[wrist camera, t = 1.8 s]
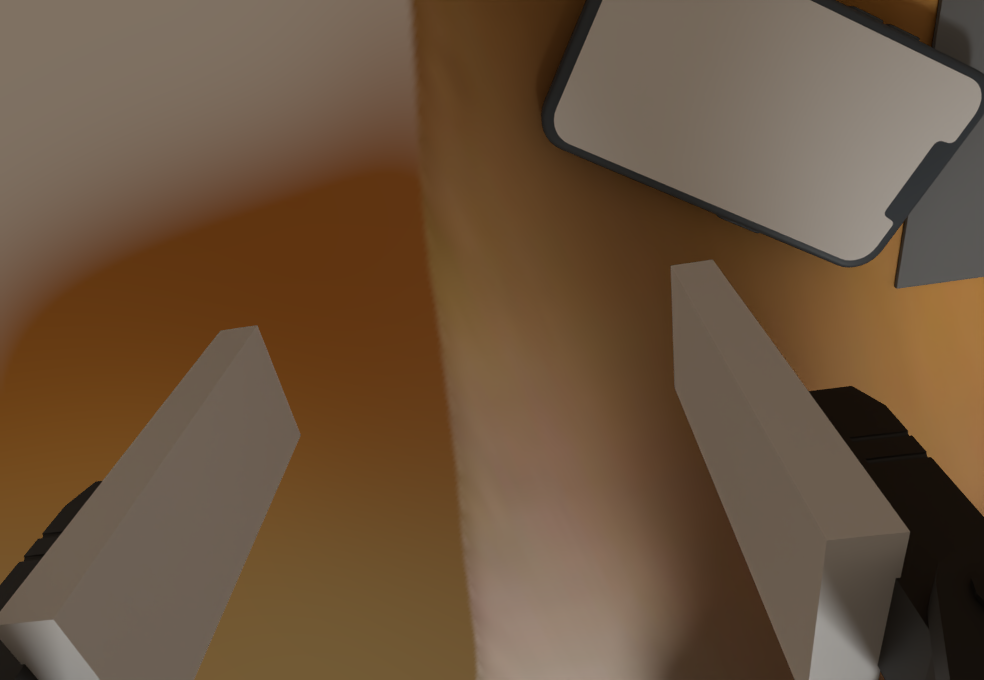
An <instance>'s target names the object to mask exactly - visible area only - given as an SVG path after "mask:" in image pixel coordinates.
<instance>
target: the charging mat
mask: <svg viewBox="0 0 984 680" xmlns="http://www.w3.org/2000/svg"><path fill="white" fill-rule="evenodd" d="M932 48H934V49H936V50H938V51H940V52H942V53H944V54H947V55H949V56H951V57H953V58H955V59H957V60H959V61H961V62H963V63H965V64H967V65H969V66H971V67H973V68H975V69H977V70H979V71H980V72H982V73H983V74H984V0H939V5H938V11H937V18H936V24H935V31H934V37H933V43H932ZM978 277H984V115H983V117H982V118H981V119H980V121H979V122H978V123H977V125H976V126H975V127H974V129H973V130H972V131H971V133H970V134H969V135H968V137H967V138H966V139H965V141H964V142H963V143H962V145H961V146H960V147H959V149H958V150H957V151H956V153H955V154H954V155H953V157H952V158H951V159H950V161H949V162H948V163H947V165H946V166H945V167H944V169H943V170H942V171H941V173H940V174H939V175H938V177H937V178H936V179H935V181H934V182H933V183H932V185H931V186H930V187H929V189H928V190H927V191H926V193H925V194H924V195H923V196H922V198H921V199H920V200H919V202H918V203H917V204H916V206H915V207H914V208H913V210H912V211H911V212H910V214H909V215H908V216H907V218H906V219H905V223H904V229H903V236H902V242H901V248H900V255H899V261H898V268H897V274H896V280H895V288H905V287H912V286H919V285H927V284H934V283H941V282H949V281H956V280H963V279H970V278H978Z"/></svg>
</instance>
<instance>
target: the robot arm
mask: <svg viewBox="0 0 984 680" xmlns="http://www.w3.org/2000/svg"><path fill="white" fill-rule="evenodd" d="M671 292H672V324H673V355H674V386H675V390H676V392H677V395H678V397H679V400H680V402H681V405H682V407H683V409H684V412H685V414H686V417H687V419H688V422H689V424H690V426H691V429H692V431H693V434H694V436H695V439H696V441H697V444H698V446H699V448H700V451H701V453H702V456H703V458H704V461H705V463H706V465H707V468H708V470H709V473H710V475H711V478H712V480H713V482H714V485H715V487H716V490H717V492H718V495H719V497H720V500H721V502H722V504H723V507H724V509H725V512H726V514H727V517H728V519H729V521H730V524H731V526H732V529H733V531H734V534H735V536H736V538H737V541H738V543H739V546H740V548H741V551H742V553H743V555H744V558H745V560H746V563H747V565H748V568H749V570H750V573H751V575H752V577H753V580H754V582H755V585H756V587H757V590H758V592H759V594H760V597H761V599H762V602H763V604H764V607H765V609H766V611H767V614H768V616H769V619H770V621H771V624H772V626H773V628H774V631H775V633H776V636H777V638H778V641H779V643H780V646H781V648H782V650H783V653H784V655H785V658H786V660H787V663H788V665H789V667H790V670H791V672H792V675H793V677H794V680H879V675H880V671H881V673H882V675H883V677H884V679H885V680H984V517H983V516H982V514H981V513H980V512H979V511H978V510H977V509H976V508H975V506H974V505H973V504H972V503H971V502H970V501H969V500H968V499H967V497H966V496H965V495H964V494H963V493H962V492H961V491H960V489H959V488H958V487H957V486H956V485H955V484H954V483H953V481H952V480H951V479H950V478H949V477H948V476H947V475H946V473H945V472H944V471H943V470H942V469H941V468H940V467H939V466H938V464H937V463H936V462H935V461H934V460H933V459H932V458H931V457H929V458H928V457H927V454H926V451H925V450H924V448H923V447H922V446H921V445H920V444H919V443H918V442H917V441H916V439H915V438H914V437H913V436H909V435H908V430H907V429H906V428H905V427H904V426H903V425H902V423H901V422H900V421H899V420H898V419H897V418H896V417H895V416H894V414H893V413H892V412H891V411H890V410H889V409H888V408H887V406H886V405H884V404H882V403H881V402H879V401H877V400H875V399H874V398H872V397H870V396H868V395H867V394H865V393H863V392H861V391H860V390H858V389H856V388H854V387H853V386H848V387H840V388H832V389H824V390H816V391H808V390H807V389H806V387H805V386H804V385H803V383H802V382H801V381H800V379H799V378H798V376H797V375H796V374H795V372H794V371H793V370H792V368H791V367H790V365H789V364H788V363H787V361H786V360H785V358H784V357H783V356H782V354H781V353H780V352H779V350H778V349H777V347H776V346H775V345H774V343H773V342H772V341H771V339H770V338H769V336H768V335H767V334H766V332H765V331H764V330H763V328H762V327H761V325H760V324H759V323H758V321H757V320H756V319H755V317H754V316H753V314H752V313H751V312H750V310H749V309H748V307H747V306H746V305H745V303H744V302H743V301H742V299H741V298H740V296H739V295H738V294H737V292H736V291H735V290H734V288H733V287H732V285H731V284H730V283H729V281H728V280H727V279H726V277H725V276H724V274H723V273H722V272H721V270H720V269H719V267H718V266H717V265H716V263H715V262H714V261H713V260H706V261H699V262H692V263H685V264H679V265H672V266H671ZM299 438H300V432H299V430H298V427H297V425H296V422H295V420H294V417H293V415H292V412H291V410H290V407H289V405H288V402H287V399H286V397H285V394H284V392H283V389H282V387H281V384H280V382H279V379H278V377H277V374H276V372H275V369H274V367H273V364H272V361H271V359H270V356H269V354H268V351H267V349H266V346H265V344H264V341H263V339H262V336H261V334H260V331H259V328H258V326H250V327H243V328H236V329H229V330H222V331H220V332H219V333H218V335H217V336H216V337H215V339H214V340H213V341H212V342H211V344H210V345H209V346H208V347H207V349H206V350H205V351H204V353H203V354H202V355H201V356H200V358H199V359H198V360H197V361H196V363H195V364H194V365H193V366H192V368H191V369H190V370H189V372H188V373H187V374H186V375H185V377H184V378H183V379H182V381H181V382H180V383H179V385H178V386H177V387H176V388H175V390H174V391H173V392H172V393H171V395H170V396H169V397H168V398H167V400H166V401H165V402H164V403H163V405H162V406H161V407H160V409H159V410H158V411H157V412H156V414H155V415H154V416H153V417H152V419H151V420H150V421H149V423H148V424H147V425H146V426H145V428H144V429H143V430H142V432H141V433H140V434H139V435H138V437H137V438H136V439H135V441H134V442H133V443H132V444H131V446H130V447H129V448H128V449H127V451H126V452H125V453H124V454H123V456H122V457H121V458H120V460H119V461H118V462H117V463H116V465H115V466H114V467H113V468H112V470H111V471H110V472H109V473H108V475H107V476H106V477H105V479H104V480H103V481H98V482H95V483H93V484H92V485H91V486H90V487H88V488H87V489H86V490H85V491H83V492H82V493H81V494H80V495H78V496H77V497H76V498H75V499H74V500H72V501H71V502H70V503H68V504H67V505H66V506H65V507H64V508H63V509H62V511H61V512H60V513H59V514H58V515H57V516H56V518H55V519H54V520H53V521H52V522H51V524H50V525H49V526H48V527H47V529H46V530H45V531H44V532H43V538H42V539H38V540H37V541H36V542H35V543H34V545H33V546H32V547H31V548H30V549H29V551H28V552H27V553H26V554H25V555H24V557H25V559H24V562H19V563H18V564H17V565H16V566H15V568H14V569H13V570H12V571H11V573H10V574H9V575H8V576H7V577H6V579H5V580H4V581H3V582H2V584H1V585H0V680H194V678H195V676H196V674H197V671H198V669H199V667H200V665H201V662H202V660H203V658H204V655H205V653H206V651H207V648H208V646H209V644H210V642H211V639H212V637H213V635H214V632H215V630H216V628H217V625H218V623H219V621H220V619H221V616H222V614H223V612H224V610H225V607H226V605H227V603H228V600H229V598H230V596H231V593H232V591H233V589H234V587H235V584H236V582H237V580H238V577H239V575H240V573H241V570H242V568H243V566H244V563H245V561H246V559H247V557H248V554H249V552H250V550H251V547H252V545H253V543H254V541H255V538H256V536H257V534H258V532H259V529H260V527H261V525H262V522H263V520H264V518H265V516H266V513H267V511H268V509H269V506H270V504H271V502H272V499H273V497H274V495H275V492H276V490H277V488H278V486H279V483H280V481H281V479H282V477H283V474H284V472H285V470H286V467H287V465H288V463H289V460H290V458H291V456H292V454H293V451H294V449H295V447H296V444H297V442H298V440H299Z"/></svg>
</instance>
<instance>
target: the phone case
mask: <svg viewBox="0 0 984 680" xmlns="http://www.w3.org/2000/svg"><path fill="white" fill-rule="evenodd" d="M919 40H920V39H919V38H918V37H916V36H914V35H912V34H910V33H908V32H906V31H904V30H902V29H900V28H898V27H896V26H893V25H890V24H883V20H881V19H879V18H877V17H875V16H873V15H871V14H869V13H867V12H865V11H863V10H861V9H859V8H857V7H854V6H849V7H848V6H846V5H844V4H842V3H840V2H838V1H836V0H586V2H585V4H584V7H583V9H582V11H581V14H580V16H579V19H578V21H577V24H576V26H575V28H574V31H573V33H572V36H571V38H570V40H569V43H568V45H567V48H566V50H565V52H564V55H563V57H562V60H561V62H560V65H559V67H558V69H557V72H556V74H555V77H554V79H553V81H552V84H551V86H550V89H549V91H548V93H547V96H546V98H545V101H544V104H543V107H542V113H541V118H542V126H543V130H544V133H545V135H546V137H547V138H548V139H549V141H550V142H551V143H552V144H554V145H555V146H556V147H558V148H560V149H562V150H564V151H567V152H569V153H572V154H574V155H576V156H579V157H581V158H583V159H586V160H588V161H591V162H593V163H595V164H598V165H600V166H602V167H605V168H607V169H610V170H612V171H614V172H617V173H619V174H622V175H624V176H626V177H629V178H631V179H633V180H636V181H638V182H641V183H643V184H645V185H648V186H650V187H652V188H655V189H657V190H660V191H662V192H664V193H667V194H669V195H672V196H674V197H676V198H679V199H681V200H683V201H686V202H688V203H691V204H693V205H695V206H698V207H700V208H703V209H705V210H707V211H710V212H712V213H714V214H716V215H717V216H718V217H720V218H722V219H724V220H726V221H729V222H731V223H733V224H736V225H738V226H741V227H743V228H745V229H748V230H750V231H753V232H755V233H762V234H764V235H767V236H769V237H772V238H774V239H776V240H779V241H781V242H783V243H786V244H788V245H791V246H793V247H795V248H798V249H800V250H803V251H805V252H807V253H810V254H812V255H814V256H817V257H819V258H822V259H824V260H826V261H829V262H831V263H833V264H836V265H839V266H842V267H856V266H860V265H863V264H865V263H868V262H869V261H871V260H872V259H874V258H875V257H876V256H877V255H878V254H879V253H880V252H881V251H882V250H883V248H884V247H885V246H886V244H887V243H888V242H889V240H890V239H891V238H892V236H893V235H894V234H895V232H896V231H897V230H898V228H899V227H900V226H901V224H902V223H903V222H904V220H905V219H906V218H907V216H908V215H909V214H910V212H911V211H912V210H913V208H914V207H915V206H916V204H917V203H918V202H919V200H920V199H921V198H922V196H923V195H924V194H925V193H926V191H927V190H928V189H929V187H930V186H931V185H932V183H933V182H934V181H935V179H936V178H937V177H938V175H939V174H940V173H941V171H942V170H943V169H944V167H945V166H946V165H947V163H948V162H949V161H950V159H951V158H952V157H953V155H954V154H955V153H956V151H957V150H958V149H959V147H960V146H961V145H962V143H963V142H964V141H965V139H966V138H967V137H968V135H969V134H970V133H971V131H972V130H973V129H974V127H975V126H976V125H977V123H978V122H979V121H980V119H981V118H982V117H983V115H984V74H983V73H982V72H980V71H979V70H977V69H975V68H973V67H971V66H969V65H967V64H965V63H963V62H961V61H959V60H957V59H955V58H953V57H951V56H949V55H947V54H944V53H942V52H940V51H938V50H936V49H934V48H932V47H930V46H928V45H926V44H924V43H922V42H920V41H919Z"/></svg>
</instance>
